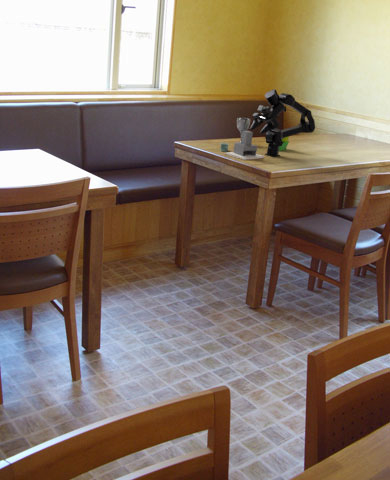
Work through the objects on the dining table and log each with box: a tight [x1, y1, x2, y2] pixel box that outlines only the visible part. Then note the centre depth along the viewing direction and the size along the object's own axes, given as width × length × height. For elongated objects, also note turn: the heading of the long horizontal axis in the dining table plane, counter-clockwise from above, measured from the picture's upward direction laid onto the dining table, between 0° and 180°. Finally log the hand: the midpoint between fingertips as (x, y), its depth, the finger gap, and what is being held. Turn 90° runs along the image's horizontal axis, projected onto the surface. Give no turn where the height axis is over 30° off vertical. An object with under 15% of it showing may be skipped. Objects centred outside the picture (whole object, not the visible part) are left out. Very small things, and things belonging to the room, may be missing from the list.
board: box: [225, 151, 265, 161], centre depth 334 cm, size 16×14×1 cm
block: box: [219, 142, 229, 153], centre depth 343 cm, size 4×4×4 cm
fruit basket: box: [279, 136, 290, 152], centre depth 363 cm, size 11×9×11 cm
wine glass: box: [234, 117, 251, 144], centre depth 368 cm, size 8×8×15 cm
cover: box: [233, 130, 258, 156], centre depth 332 cm, size 9×9×12 cm
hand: (255, 131), depth 332 cm, fingers open, 9 cm apart
